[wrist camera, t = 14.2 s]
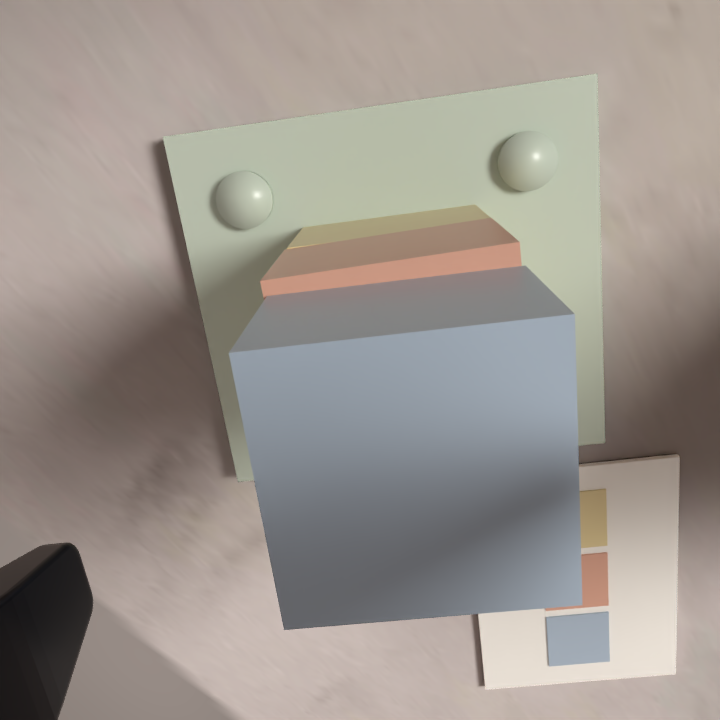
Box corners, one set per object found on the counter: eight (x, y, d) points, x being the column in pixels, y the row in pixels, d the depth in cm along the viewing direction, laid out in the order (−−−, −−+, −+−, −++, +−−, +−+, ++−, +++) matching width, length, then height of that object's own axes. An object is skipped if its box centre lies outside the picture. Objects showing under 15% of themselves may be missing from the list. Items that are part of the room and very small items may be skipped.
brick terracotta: (491, 217, 16) (519, 241, 13) (509, 410, 18) (538, 476, 14) (284, 249, 16) (259, 280, 13) (320, 435, 18) (307, 505, 15)
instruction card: (677, 454, 22) (680, 457, 22) (673, 670, 25) (676, 675, 25) (464, 476, 23) (465, 480, 23) (484, 685, 26) (485, 690, 26)
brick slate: (525, 265, 13) (575, 313, 10) (537, 495, 15) (582, 604, 11) (266, 295, 13) (228, 353, 10) (306, 517, 15) (284, 630, 12)
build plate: (590, 75, 19) (645, 62, 15) (599, 435, 22) (645, 500, 18) (168, 136, 20) (116, 139, 16) (241, 473, 23) (213, 543, 19)
